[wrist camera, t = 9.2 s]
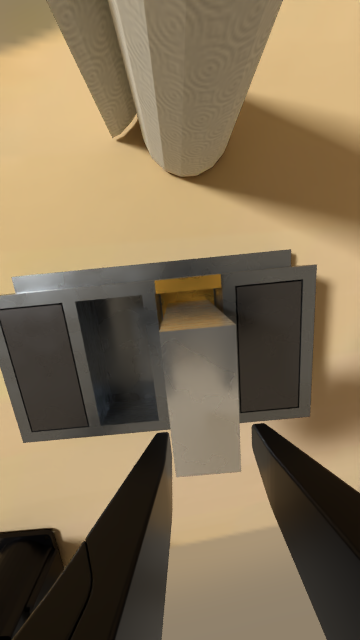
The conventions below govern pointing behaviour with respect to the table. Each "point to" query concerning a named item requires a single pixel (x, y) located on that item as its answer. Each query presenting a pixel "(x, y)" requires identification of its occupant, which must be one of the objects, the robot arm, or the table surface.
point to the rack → (150, 342)
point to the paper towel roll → (169, 68)
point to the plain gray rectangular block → (201, 388)
